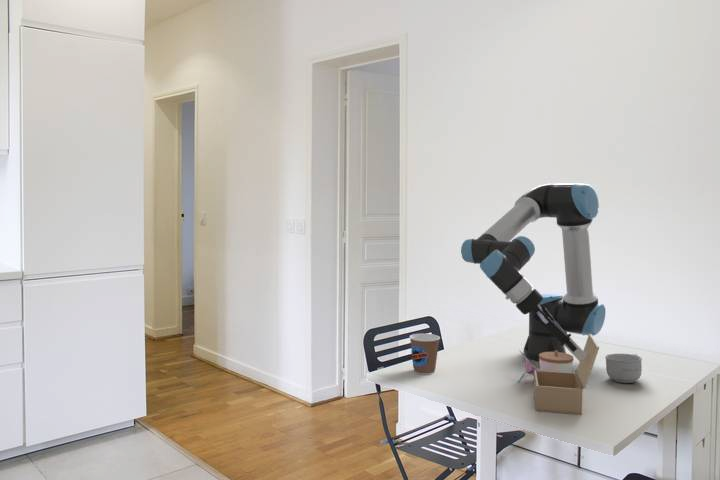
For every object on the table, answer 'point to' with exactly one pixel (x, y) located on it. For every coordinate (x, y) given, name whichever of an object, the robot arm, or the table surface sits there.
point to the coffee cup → (424, 352)
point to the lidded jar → (556, 362)
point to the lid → (587, 361)
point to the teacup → (624, 367)
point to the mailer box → (557, 392)
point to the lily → (528, 367)
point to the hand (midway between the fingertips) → (583, 357)
